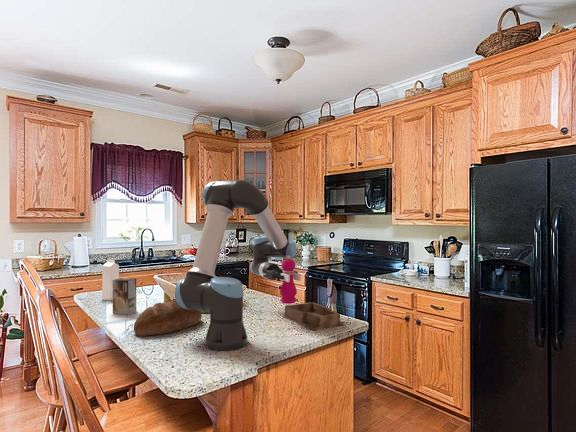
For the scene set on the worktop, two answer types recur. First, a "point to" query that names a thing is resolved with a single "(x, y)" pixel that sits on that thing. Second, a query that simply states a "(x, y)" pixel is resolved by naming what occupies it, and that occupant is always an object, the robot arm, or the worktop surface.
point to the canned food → (166, 297)
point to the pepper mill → (288, 288)
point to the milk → (109, 278)
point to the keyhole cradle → (313, 316)
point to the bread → (165, 319)
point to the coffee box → (124, 296)
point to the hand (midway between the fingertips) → (294, 278)
